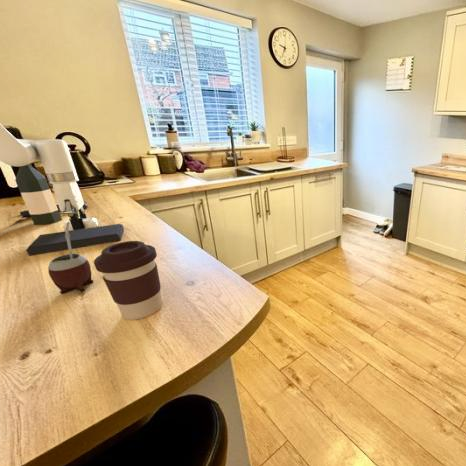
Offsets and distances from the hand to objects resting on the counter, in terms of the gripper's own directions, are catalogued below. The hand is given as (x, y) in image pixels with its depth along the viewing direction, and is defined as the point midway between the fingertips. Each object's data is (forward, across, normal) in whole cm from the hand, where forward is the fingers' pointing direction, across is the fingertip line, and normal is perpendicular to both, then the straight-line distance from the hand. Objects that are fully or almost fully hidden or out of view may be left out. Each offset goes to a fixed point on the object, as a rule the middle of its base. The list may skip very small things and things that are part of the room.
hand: (81, 226), depth 105 cm
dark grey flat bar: (+1, +14, +2) cm, 14 cm away
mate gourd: (+1, +49, +7) cm, 50 cm away
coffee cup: (+1, +68, +21) cm, 71 cm away
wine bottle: (+1, -17, -13) cm, 21 cm away
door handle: (+1, -33, -13) cm, 35 cm away
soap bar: (+1, 0, 0) cm, 1 cm away
